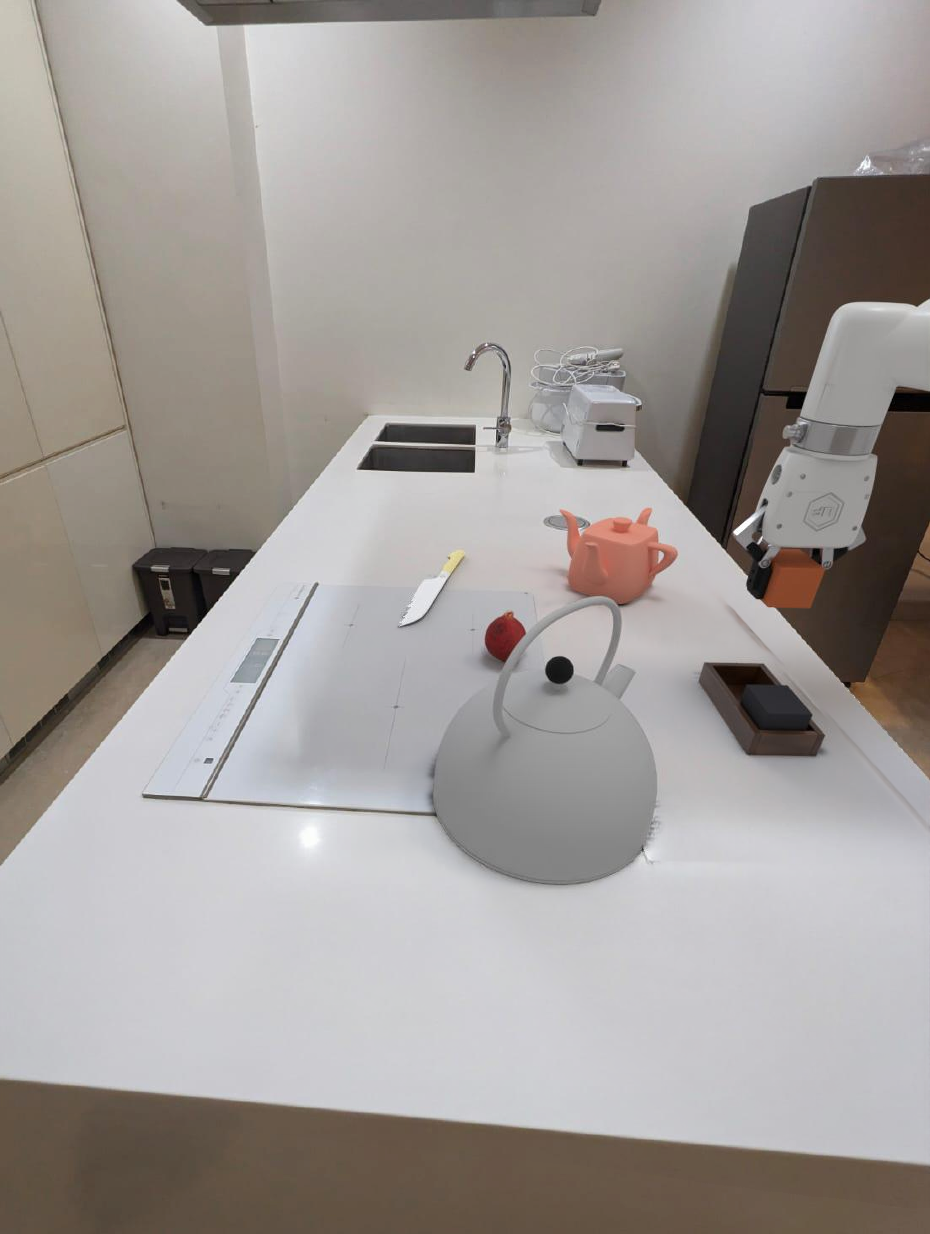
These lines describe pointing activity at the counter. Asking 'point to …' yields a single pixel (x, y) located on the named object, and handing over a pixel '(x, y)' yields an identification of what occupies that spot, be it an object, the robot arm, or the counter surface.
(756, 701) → the pad charcoal
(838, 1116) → the counter surface
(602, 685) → the kettle
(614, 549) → the pot
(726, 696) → the brown wooden tray
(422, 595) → the knife
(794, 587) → the orange block
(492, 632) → the red pomegranate
